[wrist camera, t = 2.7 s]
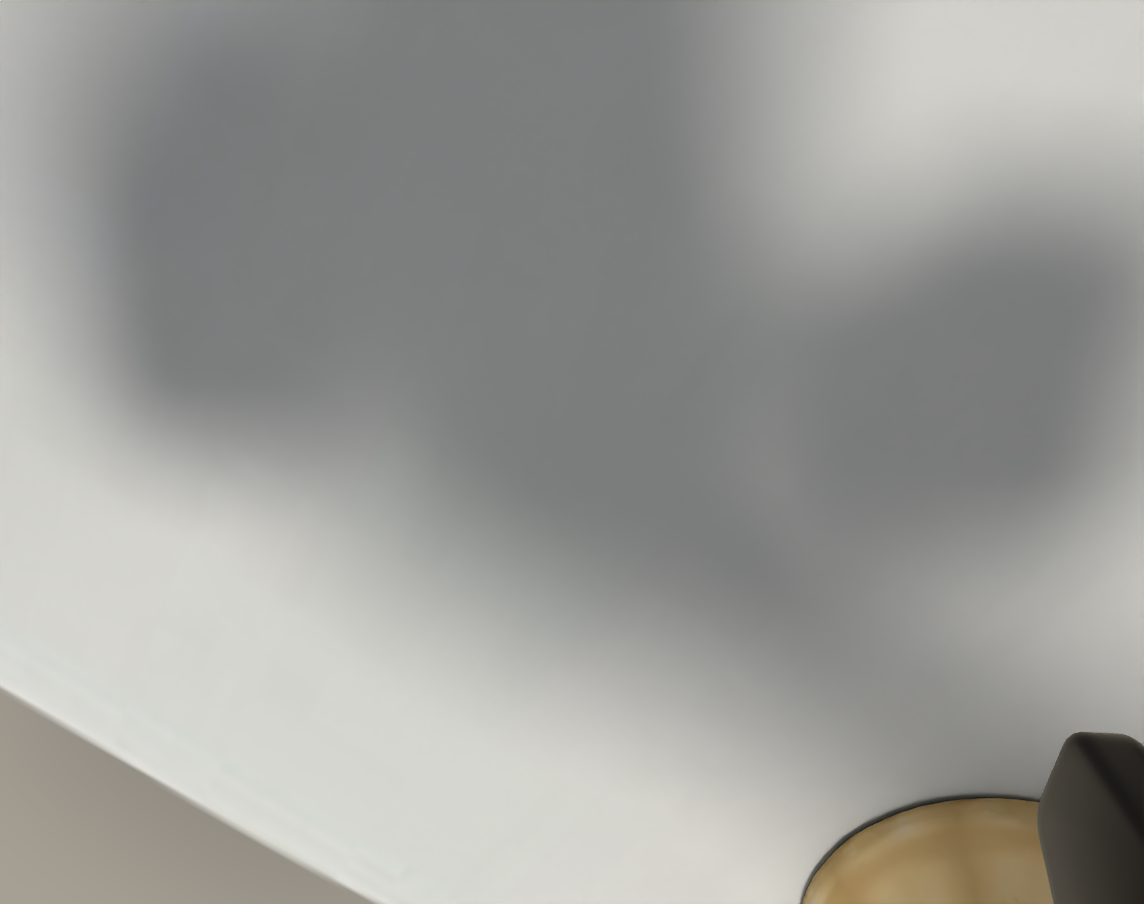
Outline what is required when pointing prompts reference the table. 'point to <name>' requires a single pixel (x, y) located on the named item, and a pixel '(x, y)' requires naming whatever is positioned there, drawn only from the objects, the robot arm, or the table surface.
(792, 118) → the table surface
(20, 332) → the table surface
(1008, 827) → the hand bell
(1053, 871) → the robot arm
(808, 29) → the table surface
